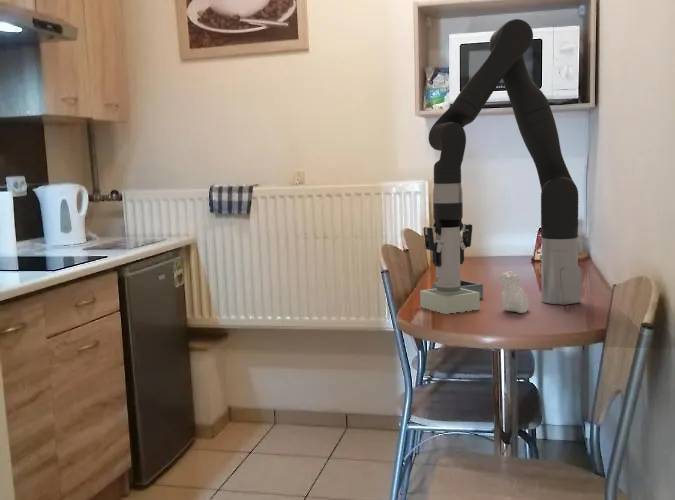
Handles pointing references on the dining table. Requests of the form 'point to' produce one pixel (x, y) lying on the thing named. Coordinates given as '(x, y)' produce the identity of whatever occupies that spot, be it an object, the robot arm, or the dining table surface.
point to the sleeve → (469, 286)
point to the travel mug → (449, 257)
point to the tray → (450, 300)
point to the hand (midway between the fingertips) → (448, 264)
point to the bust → (513, 293)
